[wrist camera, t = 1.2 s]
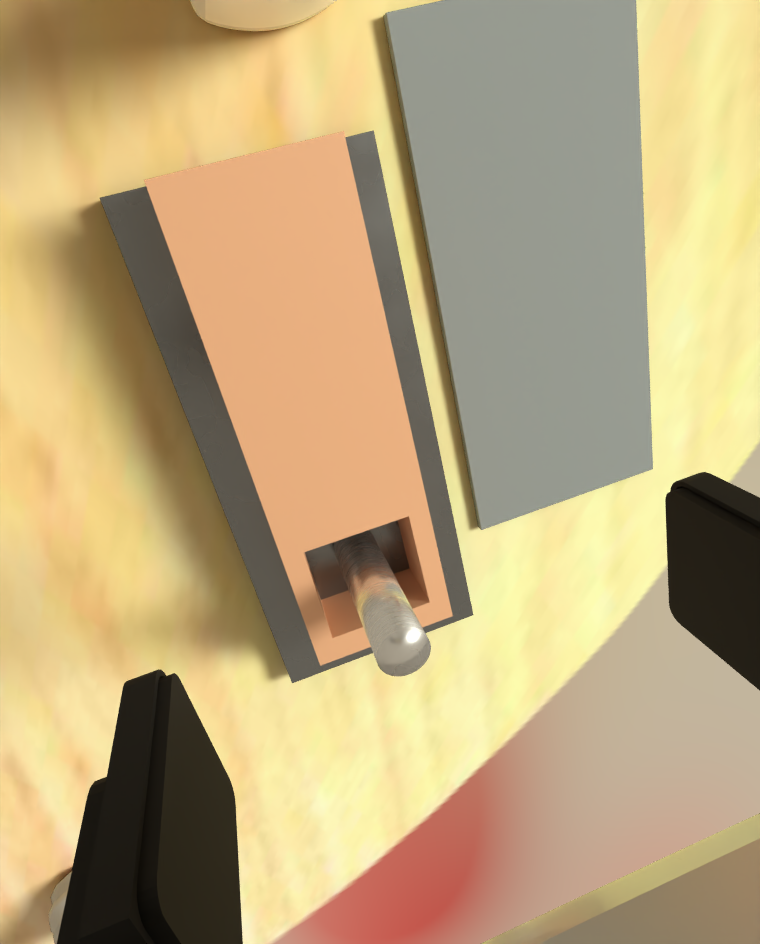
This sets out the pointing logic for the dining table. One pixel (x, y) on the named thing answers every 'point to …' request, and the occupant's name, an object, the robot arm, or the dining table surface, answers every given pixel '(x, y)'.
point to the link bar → (304, 363)
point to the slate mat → (533, 236)
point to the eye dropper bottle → (257, 12)
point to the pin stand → (333, 565)
